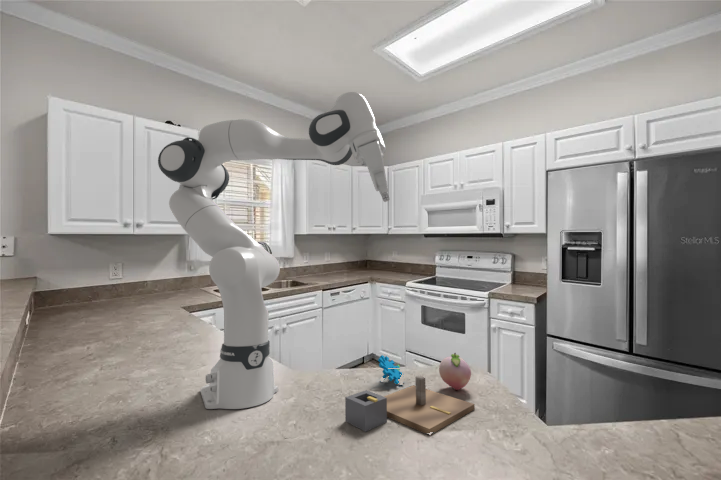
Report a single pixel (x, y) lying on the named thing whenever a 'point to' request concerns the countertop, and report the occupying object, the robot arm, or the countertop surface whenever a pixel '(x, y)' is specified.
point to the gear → (389, 372)
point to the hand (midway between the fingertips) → (386, 196)
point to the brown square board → (425, 407)
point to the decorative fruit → (455, 371)
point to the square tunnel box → (366, 410)
